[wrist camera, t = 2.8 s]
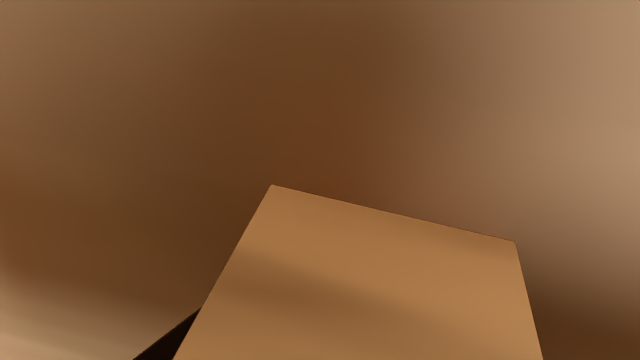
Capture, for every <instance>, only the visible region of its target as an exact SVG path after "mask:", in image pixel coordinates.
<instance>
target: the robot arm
mask: <svg viewBox="0 0 640 360" xmlns="http://www.w3.org/2000/svg"><path fill="white" fill-rule="evenodd" d="M201 308H202V307H201ZM201 308H199V309H198V310H197V311H196V312H194V313H193V314H192V315H190V316H189V317H188V318H186V319H185V320H184V321H182V322H181V323H180V324H179V325H177V326H176V327H175V328H173V329H172V330H171V331H169V332H168V333H167V334H165V335H164V336H163V337H162V338H160V339H159V340H158V341H156V342H155V343H154V344H152V345H151V346H150V347H149V348H147V349H146V350H145V351H143V352H142V353H141V354H139V355H138V356H137V357H135V358H134V359H133V360H173V358H174V356H175V355H176V353H177V351H178V349H179V347H180V346H181V344H182V342H183V340H184V339H185V337H186V335H187V333H188V331H189V330H190V328H191V326H192V324H193V322H194V321H195V319H196V317H197V315H198V314H199V312H200V310H201Z"/></svg>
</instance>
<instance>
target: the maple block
mask: <svg viewBox="0 0 640 360" xmlns="http://www.w3.org/2000/svg"><path fill="white" fill-rule="evenodd" d="M173 360H543V357H542V353H541V349H540V345H539V340H538V336H537V332H536V328H535V324H534V320H533V316H532V311H531V307H530V303H529V299H528V295H527V291H526V286H525V282H524V278H523V274H522V270H521V266H520V262H519V257H518V253H517V249H516V245H515V242H513V241H509V240H505V239H500V238H496V237H492V236H488V235H483V234H479V233H475V232H471V231H467V230H462V229H458V228H454V227H450V226H445V225H441V224H437V223H433V222H428V221H424V220H420V219H416V218H412V217H407V216H403V215H399V214H395V213H390V212H386V211H382V210H378V209H373V208H369V207H365V206H361V205H356V204H352V203H348V202H344V201H340V200H335V199H331V198H327V197H323V196H318V195H314V194H310V193H306V192H301V191H297V190H293V189H289V188H285V187H280V186H276V185H272V184H271V185H270V187H269V189H268V191H267V193H266V194H265V196H264V198H263V200H262V201H261V203H260V205H259V207H258V209H257V210H256V212H255V214H254V216H253V217H252V219H251V221H250V223H249V225H248V226H247V228H246V230H245V232H244V233H243V235H242V237H241V239H240V241H239V242H238V244H237V246H236V248H235V250H234V251H233V253H232V255H231V257H230V258H229V260H228V262H227V264H226V266H225V267H224V269H223V271H222V273H221V274H220V276H219V278H218V280H217V282H216V283H215V285H214V287H213V289H212V290H211V292H210V294H209V296H208V298H207V299H206V301H205V303H204V305H203V306H202V308H201V310H200V312H199V314H198V315H197V317H196V319H195V321H194V322H193V324H192V326H191V328H190V330H189V331H188V333H187V335H186V337H185V339H184V340H183V342H182V344H181V346H180V347H179V349H178V351H177V353H176V355H175V356H174V358H173Z"/></svg>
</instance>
